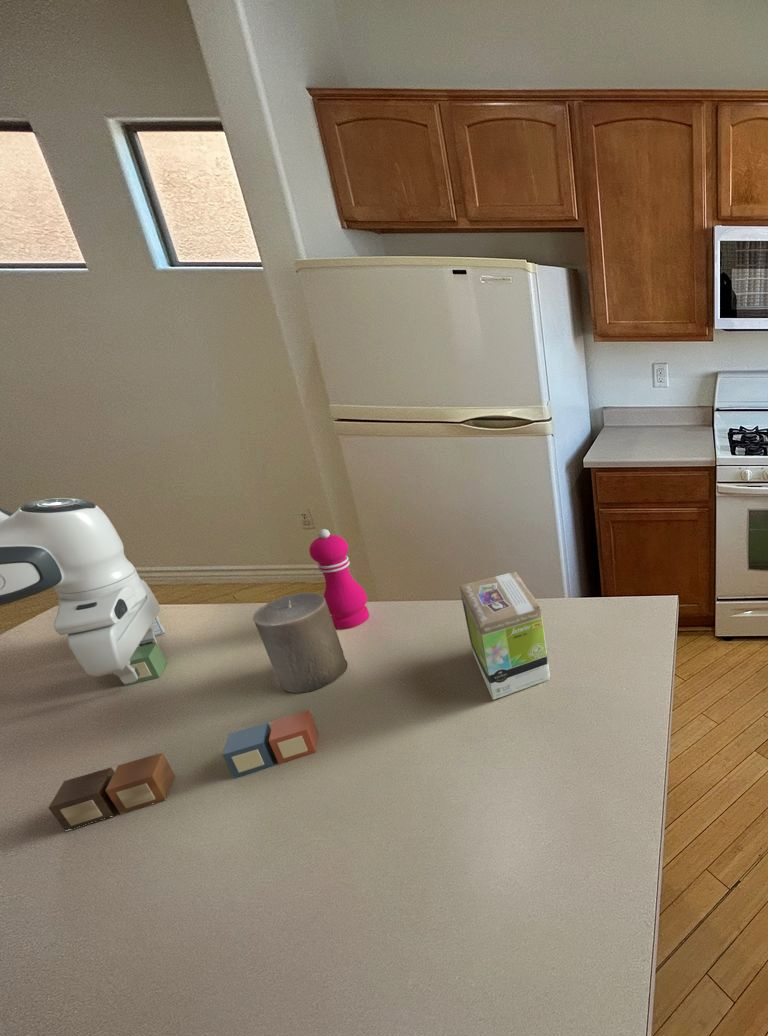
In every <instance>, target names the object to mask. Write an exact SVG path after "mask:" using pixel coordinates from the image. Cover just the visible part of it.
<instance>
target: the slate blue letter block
mask: <svg viewBox="0 0 768 1036" xmlns="http://www.w3.org/2000/svg"><path fill="white" fill-rule="evenodd" d="M270 733H271V727H270V724H269V722H268V721H267V722H263V723H259V724H256V725H252V726H250V727H246V728H243V729H239V730H236V731H232V732H229V733H228V735H227V739H226V742H225V745H224V748H223V752H222V757H223V759H224V762H225V764H226V765H227V768H228V770H229V771H230V774H231V775H232V777H233V779H236V778H239V777H242V776H246V775H249V774H252V773H255V772H258V771H262V770H265V769H267V768H270V767H273V766H274V764H275V759H276V757H275V754H274V752H273V750H272V748H271V745H270V743H269V737H270Z"/></svg>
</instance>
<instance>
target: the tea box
mask: <svg viewBox="0 0 768 1036" xmlns="http://www.w3.org/2000/svg"><path fill="white" fill-rule="evenodd" d="M459 591H460V596H461V598H460V599H461V602H462V607H463V611H464V616H465V621H466V628H467V632H468V637H469V643H470V647H471V651H472V654H473V656H474V659H475V661H476V664H477V666H478V669H479V671H480V673H481V676H482V679H483V680H484V681H483V682H485V685H486V688H487V690H488V692H489V695H490V697H491V699H492V700H493V701H494V700H496V699H500V698H503V697H506V696H509V695H511V694H514V693H517V692H520V691H523V690H526V689H528V688H530V687H533V686H535V685H536V686H537V685H538V684H541V683H544V682H546V681H549V680H550V678H551V674H550V666H549V660H548V651H547V645H546V635H545V629H544V620H543V619H544V618H543V614H542V608H541V606H540V605H539V603H538V601H537V600H536V598H535V597H534V595H533V594H532V592H531V591H530V590H529V589H528V587H527V586H526V584H525V583H524V581H523V580H522V579H521V577H520V576H519V574H518V573H517V571H512V572H507V573H504V574H499V575H496V576H492V577H488V578H485V579H480V580H476V581H473V582H469V583H465V584H461V585H459Z"/></svg>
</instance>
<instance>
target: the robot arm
mask: <svg viewBox="0 0 768 1036" xmlns="http://www.w3.org/2000/svg"><path fill="white" fill-rule="evenodd" d="M52 588H53V589H54V590H55V593H56V595H57V596H58V598H59V599H58V601H57V602H58V608H57V614H56V617H55V618H54V619H55V620H54V622H53V628H54V630H55V632H56V633H57V634H58V635H59V636H66V635H67V637H66V638H67V644H68V647H69V649H70V651H71V652H72V654H73V655H74V657H75V659H76V660H77V662H78V664H79V665H80V666H81V668H82V669H83V670H84V672H86V673H87V674H88V675H90V676H93V677H102V676H105V675H111V674H113V675H115V676H117V677H119V679H120V681H121V683H122V684H123V685H124V684H127V683H132V682H135V681H137V679H138V677H139V675H140V673H139V672H138V669H137V667H136V668H132V667H131V666H130V665H129V664H130V660H129V659H130V658H131V656H132V655H133V653H134V651H135V650H136V648H137V647H140V646H144V645H149V644H153V643H157V644H158V645H159V642H158V641H157V638H156V636H155V633H154V625H153V621H154V619H155V618H156V616H157V617H158V614H159V613H160V609H161V608H160V604H159V601H158V600H157V598H156V596H155V594H154V592H153V591H152V589H151V588H150V586H149V584H147V582H146V581H145V580H143V579H141V577H140V575H139V574H138V571H137V569H136V567H135V566H134V565H133V563H132V562H131V561H130V560H128V558H127V556H126V555H125V547H124V543H123V541H122V539H121V537H120V535H119V533H118V531H117V529H116V528H115V526H114V525H113V523H112V522H111V520H110V519H109V517H108V515H107V514H106V513H105V512H104V510H103V509H102V508H100V507H99V506H98V505H96V504H95V503H94V502H91V501H89V500H85V499H82V498H81V499H79V498H72V497H54V498H46V499H40V500H36V501H29V502H28V503H25V504H22V505H20V507H18V509H17V510H16V511H15V512H11V511H8V510H6V509H4V508H2V507H0V607H2V606H5V605H9V604H12V603H15V602H17V601H21V600H24V599H27V598H29V597H30V598H31V597H32V596H35V595H37V594H40V593H43V592H45V591H48V590H49V589H52Z"/></svg>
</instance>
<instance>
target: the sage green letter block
mask: <svg viewBox="0 0 768 1036" xmlns="http://www.w3.org/2000/svg"><path fill="white" fill-rule="evenodd" d="M129 660H130V664H129V665H130V666H131V667H132V668H136V667H137V669H138V672H139V673H140V675H139V677H138V679H137V681H135V682H132V683H127V684H124V683H123V685H124V686H130V685H134V684H138V683H142V682H147V681H150V680H154V679H157V678H160V677H161V675H162V673H163V672H164V669H165V668H166V665H167V664H168V662H167V659H166V658H165V655H164V654H163V652H162V650H161V648H160V646H159V643H158V644H157V643H153V644H149V645H144V646H138V647H137V648H136V650H135V651H134V653H133V655H132V656H131V658H130V659H129Z"/></svg>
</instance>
